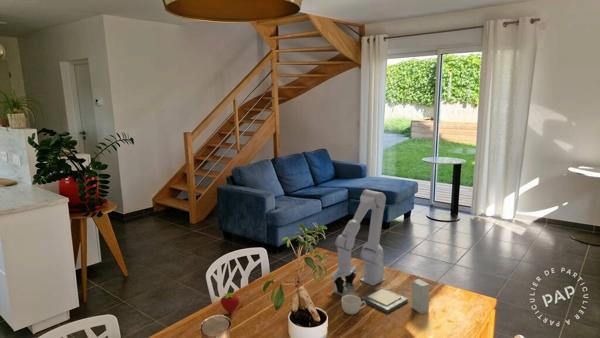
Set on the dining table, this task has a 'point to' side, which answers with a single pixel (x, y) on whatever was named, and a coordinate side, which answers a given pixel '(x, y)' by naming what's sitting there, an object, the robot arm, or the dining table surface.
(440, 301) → the dining table surface
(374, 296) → the stand
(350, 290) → the block
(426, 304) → the skincare box
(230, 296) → the strawberry
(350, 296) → the teacup
